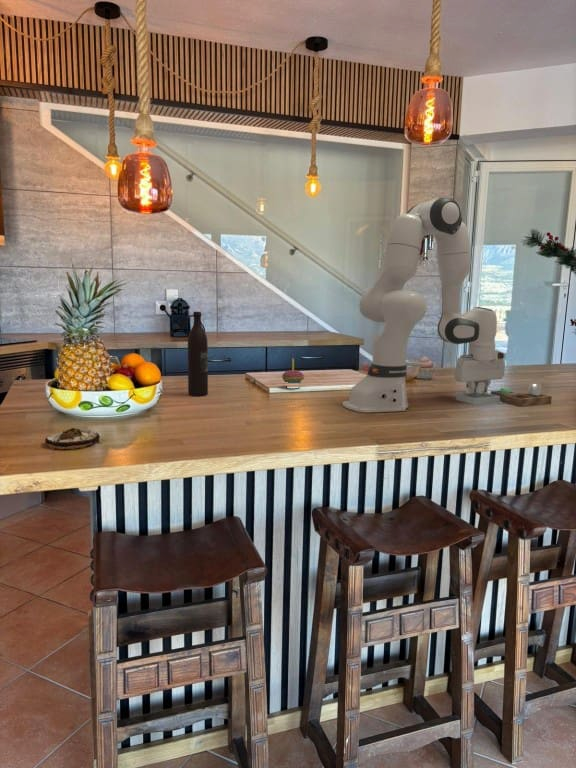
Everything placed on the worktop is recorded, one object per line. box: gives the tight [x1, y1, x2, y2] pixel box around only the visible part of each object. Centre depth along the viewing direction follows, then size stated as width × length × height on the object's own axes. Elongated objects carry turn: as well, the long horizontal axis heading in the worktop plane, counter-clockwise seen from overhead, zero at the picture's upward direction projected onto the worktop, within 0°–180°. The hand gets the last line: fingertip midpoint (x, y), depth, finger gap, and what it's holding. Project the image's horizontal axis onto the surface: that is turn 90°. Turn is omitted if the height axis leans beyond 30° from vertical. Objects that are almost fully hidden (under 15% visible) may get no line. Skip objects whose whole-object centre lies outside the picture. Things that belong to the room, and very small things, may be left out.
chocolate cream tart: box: [44, 427, 103, 451], centre depth 141 cm, size 15×15×4 cm
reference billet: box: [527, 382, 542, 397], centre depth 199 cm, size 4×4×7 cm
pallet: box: [501, 392, 553, 408], centre depth 198 cm, size 15×8×3 cm, turn 116°
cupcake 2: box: [417, 355, 436, 381], centre depth 249 cm, size 9×9×10 cm
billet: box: [472, 381, 485, 398], centre depth 200 cm, size 4×4×7 cm
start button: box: [500, 387, 512, 394], centre depth 204 cm, size 3×3×3 cm
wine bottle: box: [187, 311, 209, 397], centre depth 203 cm, size 7×7×30 cm
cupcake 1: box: [281, 358, 305, 384], centre depth 221 cm, size 9×8×12 cm
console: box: [490, 389, 521, 402], centre depth 205 cm, size 7×7×3 cm
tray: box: [455, 392, 501, 406], centre depth 200 cm, size 12×9×2 cm
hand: (478, 392), depth 200 cm, fingers closed on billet, 4 cm apart
